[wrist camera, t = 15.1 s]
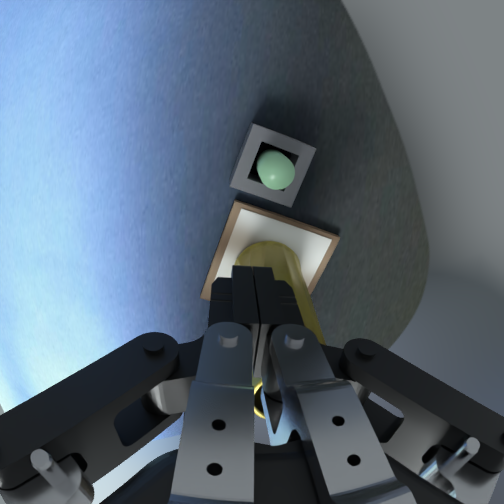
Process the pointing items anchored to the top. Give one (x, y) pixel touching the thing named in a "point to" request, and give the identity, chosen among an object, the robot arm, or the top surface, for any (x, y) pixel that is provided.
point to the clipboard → (269, 229)
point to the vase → (290, 271)
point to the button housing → (253, 183)
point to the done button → (275, 169)
